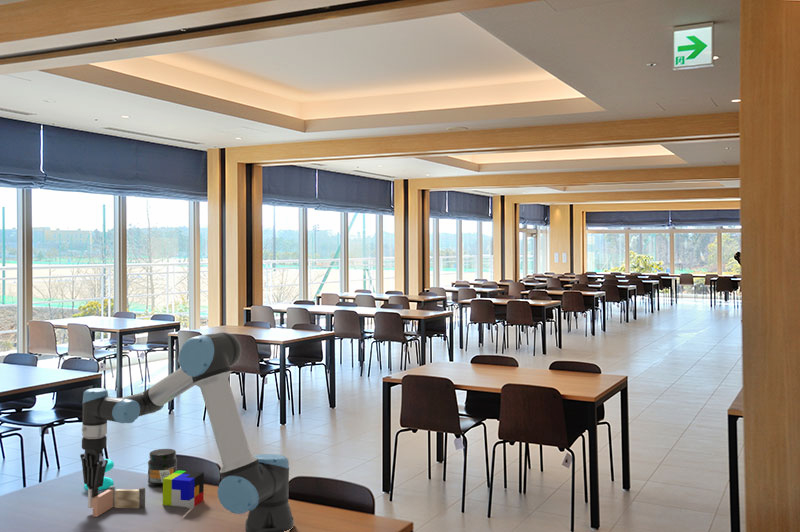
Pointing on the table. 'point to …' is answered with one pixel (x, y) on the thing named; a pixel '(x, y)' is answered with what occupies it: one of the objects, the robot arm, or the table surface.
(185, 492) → the puzzle toy
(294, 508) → the table surface
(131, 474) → the table surface
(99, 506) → the salmon gate panel
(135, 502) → the rail
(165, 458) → the supplement container
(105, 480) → the donuts
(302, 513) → the table surface
